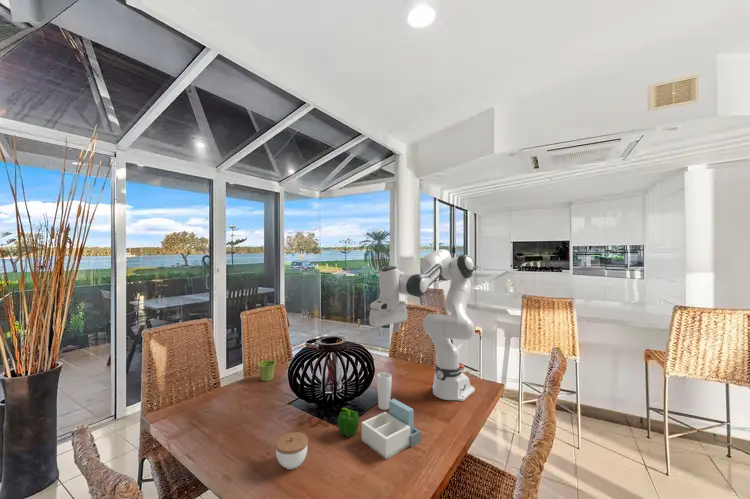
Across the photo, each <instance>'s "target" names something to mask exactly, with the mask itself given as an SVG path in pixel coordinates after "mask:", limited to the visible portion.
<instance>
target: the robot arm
mask: <svg viewBox="0 0 750 499" xmlns="http://www.w3.org/2000/svg"><path fill="white" fill-rule="evenodd" d="M420 270H421V272H422V273H406V272H403V271H401V270H399V268H398V267H397V266H393V265H390V266H385V267H383V268H382V269H381V270H380V273H379V285H378V286H379V292H380V293H379V296H378V299H376V300H374V301H373V302H371V303H370V305H369V306H370V308H371V309H370V311H369V317H368V319H369V320H368V321H369V322H368V323H369V325H370V327H372V328H376V329H377V331H378V336H380V337H382V336H384V334H385V332H384V331H383V326H388V325H393V324H396V325H395V327H394V328H393V329H394V330H393V331H394V332H395V333H399V332H400V327H401V325H402V322H406V321H407V320H408V308H407V304H406V302H405V301H404V300H400V294H402V295H406V296H407V295H409V296H413V297H417V298H421V297H422V296H424V295H425V294H426V292H427V291H428V289H429V288H430V287H431V285H433V284H434V283H435V282H436V281H437V280H438V278H439V279H440V280H442V281H450V280H451V285H450V286H449V288H448V291H447V294H446V297H445V300H444V307H445V309H446V311H448V312H449V313H450V314H441V313H430V314H429V313H428V314H427V315H426V316H425V317H424V319H423V321H422V326H423V327H422V328H423V330H424V331H425V333H426V334H427V335H428V336H429V337H430V339H431V341H432V342H433V345H434V348H435V354H436V355H435V356H436V358H435V359H436V360H435V362H436V363H435V367H434V369H435V372H434V377H433V385H432V387H431V388H432V394H433V395H434V396H435V397H437V398H439V399H441V400H445V401H461V402H462V401H463V402H464V401H465V400H466V399H467V398H468V397H470V395H472V394H473V393H474V392H475V391H476V388H475V387H474V386H473V385H471V382H470V381H471V380H470V378H469V377H468V376H467V375H466V374H464V373H463V372H462V370H464V369H465V368H466V366H465V365H463V364H460V351H459V349H458V347H457V346H455V345H454V344H453V343H452V342H451V339H452V340H456V341H469V340H471V339H472V338H473V336H474V335H475V332H476V328H475V327H476V326H475V324H474V321H472V320H471V318H469V317H468V314H467V306H468V303H469V300H470V296H471V295H470V294H471V290H472V283H471V281H470V278H472V276H473V272H474V270H475V262H474V260H473V259H472V257H471V256H470V255H469V254H461V255H459V256H454V257H452V255H451V253H450V252H449V250H447V249H443V248H441V249H436V250H433V251H432V252H429V253H428V254H427V255H425V256H424V257H422V259H421V260H420Z"/></svg>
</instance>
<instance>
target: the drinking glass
mask: <svg viewBox="0 0 750 499" xmlns="http://www.w3.org/2000/svg"><path fill="white" fill-rule="evenodd" d="M392 378H393V377H392V374H391V373H390V372H386V371H382V372H378V373H377V374H376V389H377V390H376V391H377V401H378V405H377V406H378V408H379V409H380V410H382V411H386V410H389V400H391V397H392V385H393V379H392Z"/></svg>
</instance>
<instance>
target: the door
mask: <svg viewBox="0 0 750 499" xmlns="http://www.w3.org/2000/svg"><path fill="white" fill-rule="evenodd" d="M414 410H415V409H414V408H412V407H410V406H409V405H406V404H405V403H403V402H401V401H399V400H397V399H396V398H392V399H390V400H389V409H388V414H390V415H391V416H393V417H395V418H396V419H398V420H400V421H401V422H403V423H405V424H406V425H408V426H410V435H411V434H413V433H414V427H415V426H414V424H415V423H414V420H415V419H414V417H415V416H414V415H415V414H414V413H415V411H414Z"/></svg>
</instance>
